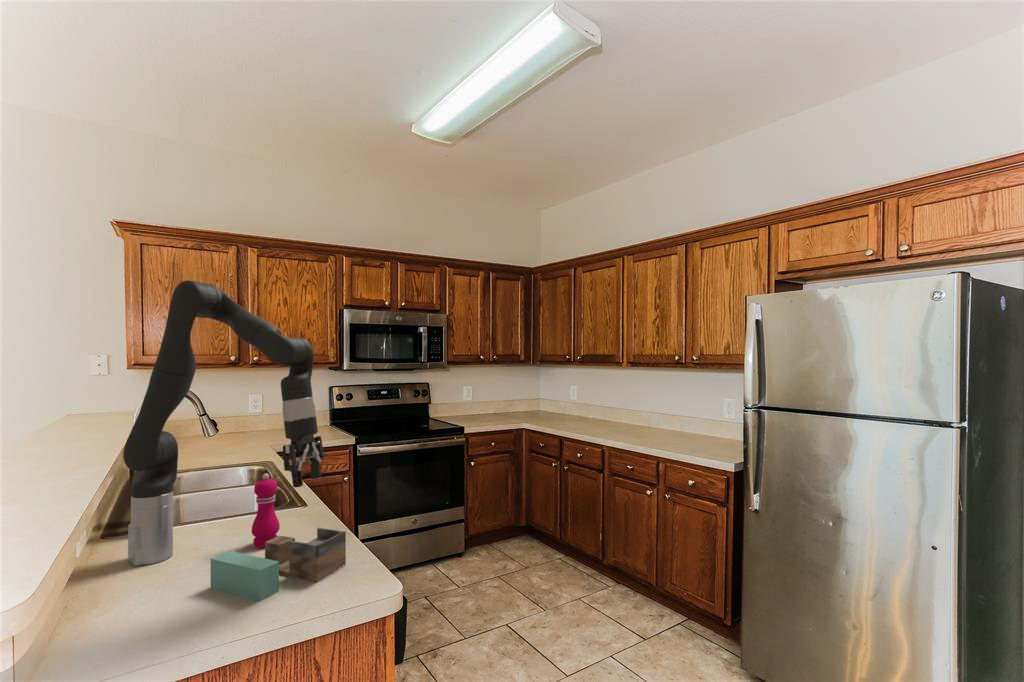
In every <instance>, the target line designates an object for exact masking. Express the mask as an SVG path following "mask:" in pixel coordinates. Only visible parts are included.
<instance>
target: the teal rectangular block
mask: <svg viewBox="0 0 1024 682" xmlns="http://www.w3.org/2000/svg"><path fill="white" fill-rule="evenodd" d="M210 589H211V590H215V591H220V592H223V593H227V594H229V595H234V596H238V597H242V598H247V599H248V600H249V599H250V600H254V601H257V602H262V601H264V600H266V599H267V598H270V597H272V596H273V595H275V594H277V593H279V592H280V575H279V561H274V560H270V559H265V557H260V556H254V555H250V554H248V553H242V552H238V551H237V552H236V551H232V550H229V551H227V552H223V553H221V554H219V555H217V556H213V557H211V558H210Z"/></svg>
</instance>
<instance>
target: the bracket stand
mask: <svg viewBox="0 0 1024 682" xmlns="http://www.w3.org/2000/svg"><path fill="white" fill-rule="evenodd" d="M316 530H317V531H316V533H317V535H316V538H314V539H312V540H310V541H308V542H300V541H297V540H296V538H295V537H291V536H286V535H277V536H278V537H276V538H274V539H271V540H269V541H267V542H265V548H264V558H265V559H270V560H274V561H279V574H280V575H279V576H284V575H285V577H289V576H290V578H295V579H299V580H304V579H305V580H304V581H309V580H310V582H314V581H315V582H314V583H318V582H320V581H321V579H322V580H323V579H324V578H327V577H328V576H330V575H332V574H333V573H335V572H336V571H338V570H339V569H338V568H340V567H341V568H343V567H344V566H343V565H345V564H346V562H347V561H346V559H347V558H346V557H347V556H346V555H347V554H346V553H347V552H346V545H347V544H346V543H347V541H346V539H347V538H346V534H347V533H346V532H347V531H343V530H338V529H330V528H323V527H317V528H316ZM342 566H343V567H342ZM345 566H346V565H345ZM341 568H340V569H341ZM337 569H338V570H337ZM335 570H336V571H335ZM334 571H335V572H334ZM332 572H333V573H332ZM331 573H332V574H331ZM329 574H330V575H329ZM326 576H327V577H326ZM319 580H320V581H319Z"/></svg>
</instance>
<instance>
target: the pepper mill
mask: <svg viewBox="0 0 1024 682" xmlns="http://www.w3.org/2000/svg"><path fill="white" fill-rule="evenodd" d="M277 491H278V484H277V481H276V480H274V479H273V478H270V474H268V472H267V473H264V474H263V475H262V479H260V480H258V481H257V482H256V483H255V484H254V487H253V493H254V495H256V497H255V503H256V504H257V513H256V516H255V518H254V521H253V523H252V525H251V534H252V536H253V537H254V538H253V543H252V544H253V547H254V548H256V547H257V548H256V549H265V542H267V541H269V540H271V539H274V538H276V537H278V536H279V535H277V534H278V532H279V530H280V529H281V527H280V521H279V519H278V516H277V513H276V511H275V506H274V505H275V501H276V495H275V494H276V493H277Z"/></svg>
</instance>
